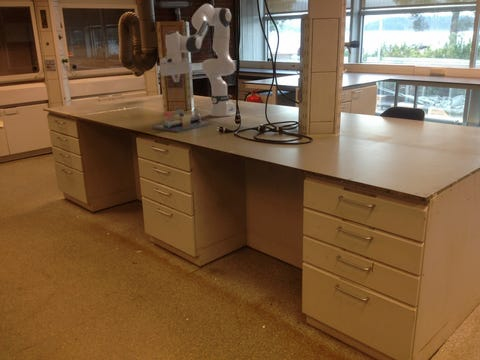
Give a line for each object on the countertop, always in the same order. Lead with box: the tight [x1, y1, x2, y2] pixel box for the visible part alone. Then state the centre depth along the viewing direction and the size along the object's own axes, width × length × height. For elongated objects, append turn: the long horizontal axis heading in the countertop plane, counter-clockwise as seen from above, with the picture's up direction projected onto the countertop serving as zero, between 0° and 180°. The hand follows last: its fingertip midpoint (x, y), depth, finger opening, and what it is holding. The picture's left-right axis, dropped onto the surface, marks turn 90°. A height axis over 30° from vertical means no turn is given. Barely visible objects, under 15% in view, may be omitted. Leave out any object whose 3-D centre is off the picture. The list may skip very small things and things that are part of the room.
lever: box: [163, 108, 186, 117], centre depth 275 cm, size 17×4×4 cm, turn 147°
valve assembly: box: [152, 113, 213, 133], centre depth 282 cm, size 30×22×7 cm
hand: (176, 81), depth 279 cm, fingers closed
